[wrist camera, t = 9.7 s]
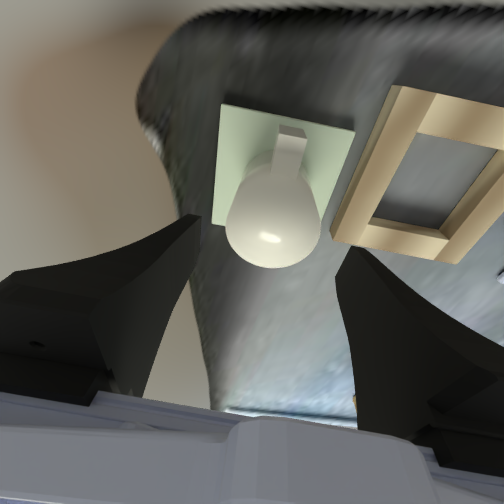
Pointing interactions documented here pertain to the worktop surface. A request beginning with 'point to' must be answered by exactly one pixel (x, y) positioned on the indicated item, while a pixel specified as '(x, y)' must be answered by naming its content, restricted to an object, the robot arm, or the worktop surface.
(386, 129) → the collar
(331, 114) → the worktop surface
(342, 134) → the sage board
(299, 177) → the jug
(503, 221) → the worktop surface
